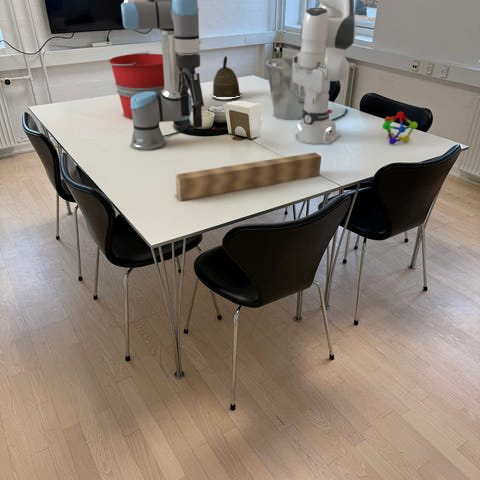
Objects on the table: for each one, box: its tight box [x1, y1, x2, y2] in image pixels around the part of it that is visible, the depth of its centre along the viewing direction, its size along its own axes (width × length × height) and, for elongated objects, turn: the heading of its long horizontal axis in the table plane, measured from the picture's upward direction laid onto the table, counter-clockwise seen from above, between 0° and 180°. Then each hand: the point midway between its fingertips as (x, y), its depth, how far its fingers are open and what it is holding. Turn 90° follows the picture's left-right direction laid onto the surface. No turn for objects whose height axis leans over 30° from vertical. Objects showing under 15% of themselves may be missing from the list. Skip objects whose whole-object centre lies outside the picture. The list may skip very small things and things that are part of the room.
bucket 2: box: [265, 57, 305, 121], centre depth 241 cm, size 30×30×28 cm
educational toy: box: [382, 110, 418, 145], centre depth 207 cm, size 16×13×15 cm
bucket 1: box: [106, 51, 165, 120], centre depth 242 cm, size 35×35×30 cm
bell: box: [212, 56, 242, 97], centre depth 278 cm, size 19×26×20 cm
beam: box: [175, 152, 322, 202], centre depth 168 cm, size 58×5×8 cm, turn 113°
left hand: (191, 121), depth 148 cm, fingers open, 13 cm apart
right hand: (308, 100), depth 161 cm, fingers open, 8 cm apart
